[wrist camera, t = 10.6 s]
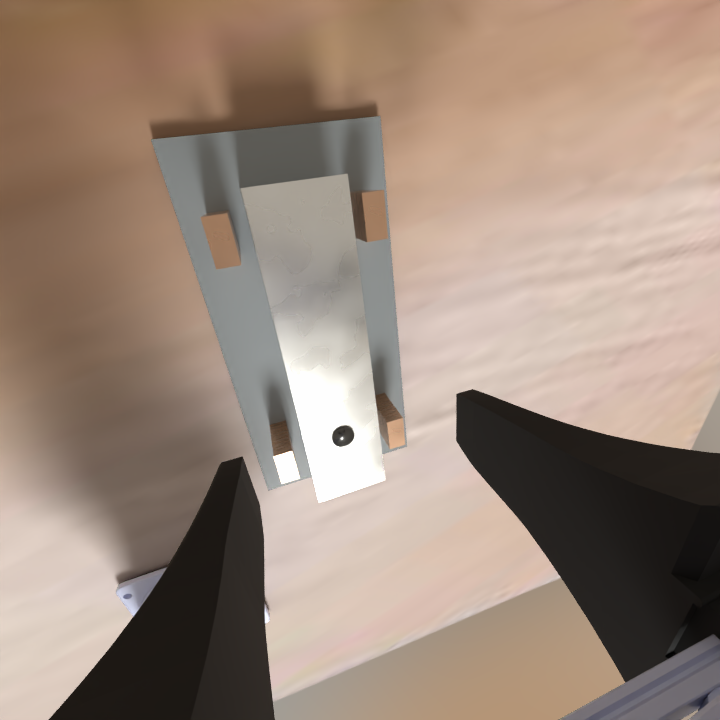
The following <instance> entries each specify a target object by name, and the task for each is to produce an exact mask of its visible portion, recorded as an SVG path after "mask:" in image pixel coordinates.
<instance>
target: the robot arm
mask: <svg viewBox="0 0 720 720" xmlns="http://www.w3.org/2000/svg"><path fill="white" fill-rule="evenodd" d="M456 441H457V443H458V444H459V446H460V447H461V449H462V450H463V452H464V454H465V455H466V457H467V458H468V459H469V461H470V462H471V464H472V465H473V466H474V468H475V469H476V470H477V471H478V472H479V474H480V475H481V476H482V477H483V478H484V479H485V481H486V482H487V483H488V484H489V485H490V486H491V487H492V489H493V490H494V491H495V492H496V493H497V494H498V495H499V497H500V498H501V499H502V500H503V501H504V502H505V503H506V505H507V506H508V507H509V508H510V509H511V510H512V511H513V513H514V514H515V515H516V516H517V517H518V518H519V520H520V521H521V522H522V523H523V525H524V526H525V527H526V528H527V530H528V531H529V532H530V534H531V535H532V537H533V538H534V539H535V541H536V542H537V544H538V545H539V546H540V548H541V549H542V551H543V552H544V553H545V555H546V556H547V558H548V559H549V561H550V562H551V564H552V565H553V566H554V568H555V569H556V571H557V572H558V574H559V575H560V577H561V578H562V580H563V581H564V582H565V584H566V586H567V587H568V589H569V590H570V592H571V593H572V595H573V596H574V598H575V600H576V601H577V603H578V604H579V606H580V607H581V609H582V611H583V612H584V614H585V615H586V617H587V618H588V620H589V622H590V623H591V625H592V626H593V628H594V630H595V631H596V633H597V635H598V636H599V638H600V640H601V641H602V643H603V645H604V646H605V648H606V650H607V651H608V653H609V655H610V656H611V658H612V660H613V661H614V663H615V665H616V667H617V668H618V670H619V672H620V673H621V675H622V677H623V679H624V681H625V682H626V683H624V684H622V685H620V686H619V687H617V688H615V689H613V690H611V691H610V692H608V693H606V694H604V695H602V696H600V697H599V698H597V699H595V700H593V701H592V702H590V703H588V704H586V705H584V706H582V707H581V708H579V709H577V710H575V711H574V712H571V713H570V714H568V715H566V716H564V717H562V718H561V719H559V720H681V719H683V718H684V717H686V716H687V715H689V714H691V713H693V712H694V711H696V710H697V709H698V712H697V713H696V714H695V715H693V716H692V717H691V718H690V719H688V720H720V453H709V452H701V451H693V450H686V449H679V448H672V447H666V446H660V445H654V444H648V443H643V442H638V441H633V440H628V439H623V438H619V437H614V436H610V435H606V434H602V433H598V432H595V431H591V430H587V429H583V428H580V427H576V426H573V425H570V424H567V423H564V422H560V421H557V420H554V419H551V418H548V417H546V416H543V415H540V414H537V413H534V412H532V411H529V410H526V409H524V408H521V407H518V406H516V405H513V404H511V403H508V402H506V401H503V400H500V399H498V398H495V397H493V396H490V395H487V394H485V393H482V392H479V391H476V390H473V389H472V390H468V391H465V392H462V393H458V394H457V424H456ZM116 594H117V596H118V597H119V598H120V600H121V601H122V602H123V604H124V605H125V606H126V608H127V609H128V610H129V612H130V613H131V614H132V616H133V618H132V619H131V621H130V622H129V623H128V625H127V626H126V627H125V629H124V630H123V631H122V633H121V634H120V635H119V637H118V638H117V639H116V641H115V642H114V643H113V645H112V646H111V647H110V648H109V650H108V651H107V652H106V653H105V655H104V656H103V657H102V658H101V659H100V661H99V662H98V663H97V664H96V665H95V667H94V668H93V669H92V670H91V671H90V673H89V674H88V675H87V676H86V677H85V679H84V680H83V681H82V682H81V683H80V685H79V686H78V687H77V688H76V689H75V690H74V692H73V693H72V694H71V695H70V696H69V697H68V699H67V700H66V701H65V702H64V703H63V704H62V705H61V706H60V708H59V709H58V710H57V711H56V712H55V713H54V714H53V716H52V717H51V718H50V719H49V720H275V718H274V709H273V700H272V691H271V682H270V673H269V663H268V653H267V643H266V632H265V624H266V623H267V622H268V621H269V620H270V614H269V611H268V609H267V607H266V604H265V595H264V535H263V526H262V519H261V511H260V504H259V501H258V499H257V496H256V493H255V490H254V487H253V485H252V482H251V479H250V476H249V473H248V470H247V468H246V465H245V462H244V459H243V457H239V458H236V459H232V460H229V461H226V462H222V463H221V464H220V466H219V468H218V470H217V472H216V475H215V477H214V479H213V482H212V484H211V486H210V488H209V490H208V493H207V495H206V497H205V499H204V501H203V503H202V505H201V507H200V509H199V511H198V513H197V515H196V517H195V519H194V521H193V523H192V525H191V527H190V529H189V531H188V532H187V534H186V536H185V538H184V539H183V541H182V543H181V545H180V546H179V548H178V550H177V552H176V553H175V555H174V557H173V559H172V560H171V562H170V563H169V565H168V567H166V568H163V569H160V570H157V571H154V572H151V573H148V574H145V575H142V576H139V577H137V578H134V579H131V580H128V581H125V582H122V583H120V584H119V585H118V587H117V590H116Z"/></svg>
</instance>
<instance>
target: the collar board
mask: <svg viewBox="0 0 720 720" xmlns="http://www.w3.org/2000/svg"><path fill="white" fill-rule="evenodd" d="M151 141H152V144H153V147H154V150H155V153H156V156H157V159H158V162H159V165H160V168H161V171H162V174H163V177H164V180H165V183H166V186H167V189H168V192H169V195H170V198H171V201H172V204H173V207H174V210H175V213H176V216H177V219H178V222H179V225H180V228H181V231H182V234H183V237H184V240H185V243H186V246H187V249H188V252H189V255H190V258H191V261H192V264H193V267H194V270H195V272H196V275H197V278H198V281H199V284H200V287H201V290H202V293H203V296H204V299H205V302H206V305H207V308H208V311H209V314H210V317H211V320H212V323H213V326H214V329H215V332H216V335H217V338H218V341H219V344H220V347H221V350H222V353H223V356H224V359H225V362H226V365H227V368H228V371H229V374H230V377H231V380H232V383H233V386H234V389H235V392H236V395H237V398H238V401H239V404H240V407H241V410H242V413H243V416H244V419H245V422H246V425H247V428H248V431H249V434H250V437H251V440H252V443H253V446H254V449H255V452H256V455H257V458H258V461H259V464H260V467H261V470H262V473H263V476H264V479H265V482H266V485H267V488H268V491H269V490H272V489H275V488H278V487H281V486H284V485H287V484H291V483H294V482H297V481H300V480H303V479H306V478H309V477H312V473H311V470H310V466H309V462H308V458H307V454H306V450H305V446H304V442H303V438H302V434H301V430H300V426H299V422H298V418H297V414H296V411H295V407H294V403H293V399H292V395H291V391H290V387H289V383H288V379H287V375H286V371H285V367H284V363H283V359H282V355H281V351H280V347H279V343H278V339H277V335H276V331H275V327H274V323H273V319H272V315H271V311H270V307H269V303H268V299H267V295H266V291H265V287H264V283H263V279H262V275H261V271H260V267H259V263H258V259H257V255H256V251H255V247H254V243H253V239H252V235H251V231H250V227H249V223H248V219H247V215H246V211H245V207H244V203H243V199H242V195H241V191H240V188H246V187H253V186H261V185H268V184H275V183H283V182H290V181H297V180H305V179H312V178H319V177H327V176H334V175H342V174H348V180H349V188H350V197H351V205H352V213H353V221H354V229H355V237H356V245H357V253H358V261H359V269H360V277H361V285H362V294H363V302H364V310H365V318H366V326H367V334H368V342H369V350H370V358H371V366H372V374H373V382H374V390H375V399H376V407H377V415H378V423H379V431H380V439H381V447H382V454H385V453H388V452H391V451H394V450H397V449H400V448H404V447H407V440H406V428H405V416H404V403H403V391H402V378H401V366H400V354H399V341H398V329H397V317H396V304H395V292H394V280H393V267H392V255H391V242H390V230H389V218H388V205H387V193H386V181H385V168H384V156H383V144H382V131H381V119H380V116H377V117H367V118H357V119H347V120H337V121H328V122H318V123H308V124H298V125H288V126H278V127H269V128H259V129H249V130H239V131H229V132H219V133H210V134H200V135H190V136H180V137H170V138H160V139H151Z"/></svg>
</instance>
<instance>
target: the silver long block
mask: <svg viewBox="0 0 720 720" xmlns="http://www.w3.org/2000/svg"><path fill="white" fill-rule="evenodd" d="M240 191H241V195H242V199H243V203H244V207H245V211H246V215H247V219H248V223H249V227H250V231H251V235H252V239H253V243H254V247H255V251H256V255H257V259H258V263H259V267H260V271H261V275H262V279H263V283H264V287H265V291H266V295H267V299H268V303H269V307H270V311H271V315H272V319H273V323H274V327H275V331H276V335H277V339H278V343H279V347H280V351H281V355H282V359H283V363H284V367H285V371H286V375H287V379H288V383H289V387H290V391H291V395H292V399H293V403H294V407H295V411H296V414H297V418H298V422H299V426H300V430H301V434H302V438H303V442H304V446H305V450H306V454H307V458H308V462H309V466H310V470H311V473H312V477H313V481H314V485H315V489H316V492H317V496H318V500H319V502H322V501H325V500H328V499H331V498H334V497H337V496H340V495H343V494H346V493H349V492H352V491H355V490H358V489H361V488H364V487H367V486H370V485H373V484H376V483H379V482H382V481H385V480H386V479H385V471H384V463H383V455H382V447H381V439H380V431H379V423H378V415H377V407H376V399H375V390H374V382H373V374H372V366H371V358H370V350H369V342H368V334H367V326H366V318H365V310H364V302H363V294H362V285H361V277H360V269H359V261H358V253H357V245H356V237H355V229H354V221H353V213H352V205H351V197H350V188H349V180H348V174H342V175H334V176H327V177H319V178H312V179H305V180H297V181H290V182H283V183H275V184H268V185H261V186H253V187H246V188H240Z"/></svg>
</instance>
